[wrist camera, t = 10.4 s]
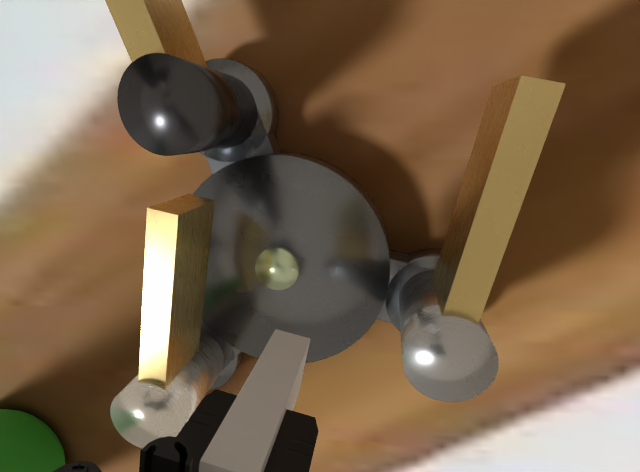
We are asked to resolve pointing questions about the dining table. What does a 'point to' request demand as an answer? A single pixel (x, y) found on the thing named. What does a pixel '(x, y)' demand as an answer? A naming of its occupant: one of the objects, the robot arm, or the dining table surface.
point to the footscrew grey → (475, 246)
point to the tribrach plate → (293, 246)
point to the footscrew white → (171, 325)
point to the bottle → (28, 444)
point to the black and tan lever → (176, 84)
